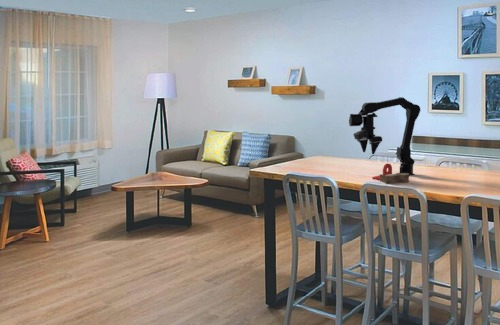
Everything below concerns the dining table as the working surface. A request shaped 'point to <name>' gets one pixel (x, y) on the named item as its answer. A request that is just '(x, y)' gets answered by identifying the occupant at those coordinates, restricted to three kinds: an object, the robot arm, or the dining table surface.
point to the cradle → (395, 178)
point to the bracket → (384, 171)
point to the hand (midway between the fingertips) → (368, 153)
